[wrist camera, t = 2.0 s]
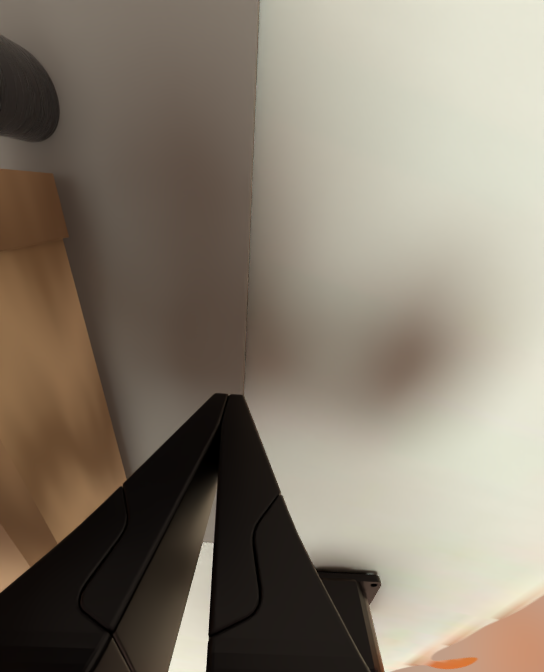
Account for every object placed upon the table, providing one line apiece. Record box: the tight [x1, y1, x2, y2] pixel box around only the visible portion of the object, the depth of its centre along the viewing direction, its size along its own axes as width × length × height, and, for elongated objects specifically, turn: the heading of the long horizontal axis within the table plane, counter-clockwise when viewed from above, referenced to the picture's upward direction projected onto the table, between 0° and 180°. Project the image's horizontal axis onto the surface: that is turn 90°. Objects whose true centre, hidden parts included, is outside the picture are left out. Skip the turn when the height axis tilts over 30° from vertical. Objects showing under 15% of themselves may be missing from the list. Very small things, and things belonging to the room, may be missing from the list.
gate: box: [0, 169, 127, 593], centre depth 8 cm, size 15×2×5 cm, turn 175°
